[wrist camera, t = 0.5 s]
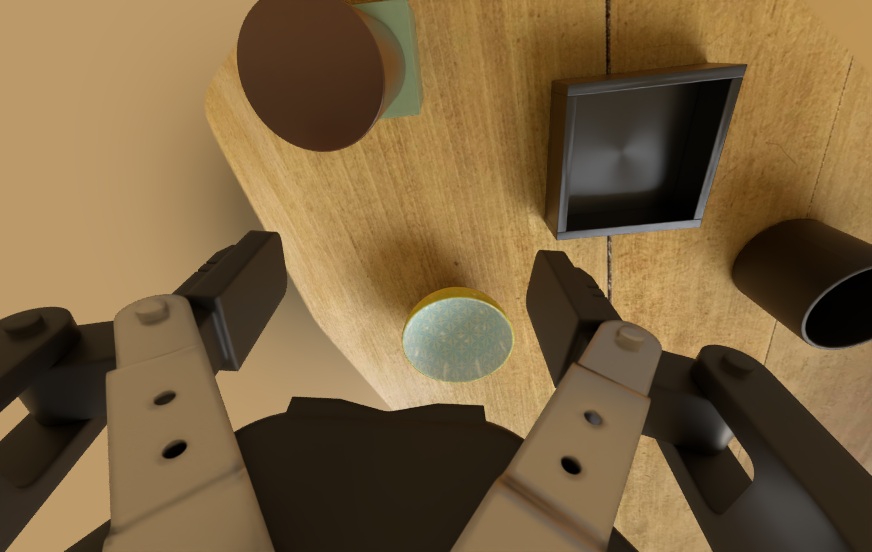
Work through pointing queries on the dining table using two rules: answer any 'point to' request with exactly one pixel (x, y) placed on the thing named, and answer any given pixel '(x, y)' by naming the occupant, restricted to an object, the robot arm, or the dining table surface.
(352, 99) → the tall brown cylinder
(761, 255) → the mug
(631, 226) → the open box
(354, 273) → the dining table surface
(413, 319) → the bowl
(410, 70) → the pale green block
